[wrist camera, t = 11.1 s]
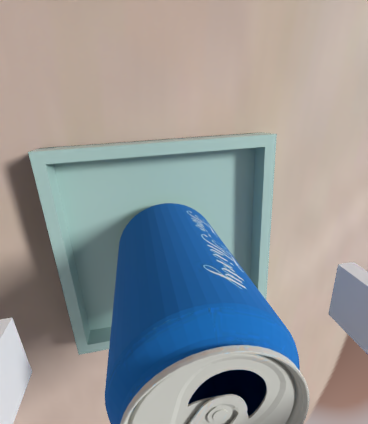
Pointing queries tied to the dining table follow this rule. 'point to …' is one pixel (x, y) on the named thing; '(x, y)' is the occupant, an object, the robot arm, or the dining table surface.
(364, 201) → the dining table surface
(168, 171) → the tray
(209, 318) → the beverage can
